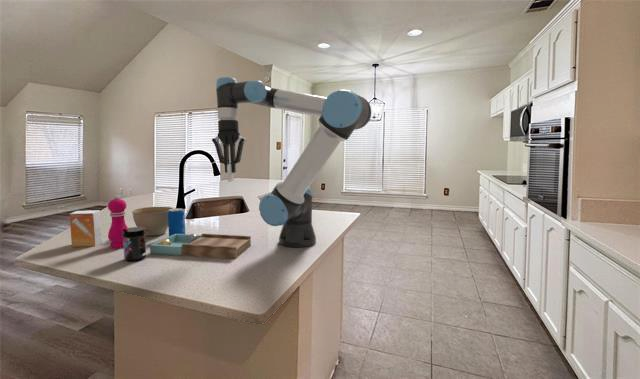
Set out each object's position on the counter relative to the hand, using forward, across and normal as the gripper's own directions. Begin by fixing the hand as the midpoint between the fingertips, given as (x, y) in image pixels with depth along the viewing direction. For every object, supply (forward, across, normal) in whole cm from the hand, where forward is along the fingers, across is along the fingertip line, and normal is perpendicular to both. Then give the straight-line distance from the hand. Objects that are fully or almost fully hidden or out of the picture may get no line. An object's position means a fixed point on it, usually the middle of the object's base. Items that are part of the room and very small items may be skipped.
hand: (230, 181), depth 129 cm
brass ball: (+22, +21, +12) cm, 33 cm away
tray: (+25, +19, +8) cm, 32 cm away
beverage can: (+25, +27, -7) cm, 37 cm away
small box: (+24, +56, +7) cm, 61 cm away
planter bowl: (+24, +40, -11) cm, 48 cm away
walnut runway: (+25, +3, +9) cm, 27 cm away
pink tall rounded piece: (+25, +42, +8) cm, 49 cm away
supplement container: (+25, +27, +21) cm, 43 cm away
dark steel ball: (+22, +15, +4) cm, 27 cm away
